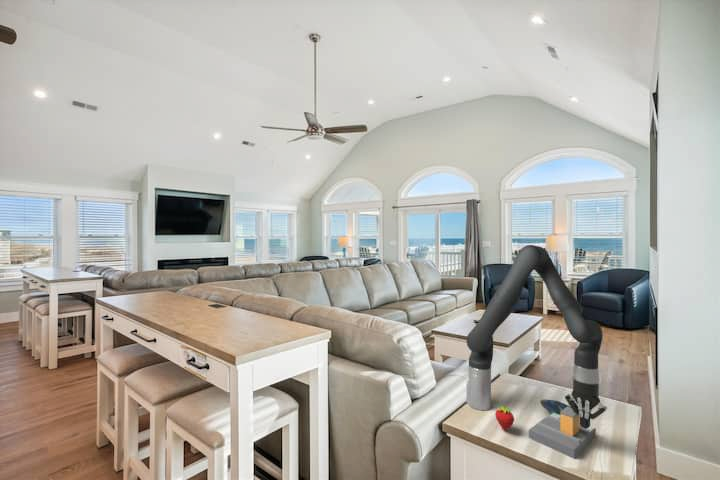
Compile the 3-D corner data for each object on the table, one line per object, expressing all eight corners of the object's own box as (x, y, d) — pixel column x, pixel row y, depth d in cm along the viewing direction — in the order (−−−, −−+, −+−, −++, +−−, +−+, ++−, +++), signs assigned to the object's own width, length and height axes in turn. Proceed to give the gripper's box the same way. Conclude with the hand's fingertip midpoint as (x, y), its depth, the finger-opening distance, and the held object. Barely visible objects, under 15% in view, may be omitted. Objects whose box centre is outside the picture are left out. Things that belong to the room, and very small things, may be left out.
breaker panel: (528, 437, 128) (528, 427, 128) (552, 419, 141) (552, 410, 141) (574, 458, 116) (574, 447, 116) (595, 436, 129) (595, 426, 129)
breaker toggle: (559, 431, 126) (560, 411, 126) (567, 425, 130) (567, 406, 130) (572, 437, 123) (573, 416, 123) (579, 430, 127) (579, 410, 127)
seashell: (578, 412, 141) (560, 390, 149) (559, 417, 139) (542, 394, 147) (572, 420, 145) (555, 398, 152) (553, 426, 142) (537, 403, 150)
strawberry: (504, 437, 128) (505, 410, 128) (491, 426, 136) (491, 400, 135) (518, 434, 130) (518, 408, 130) (504, 424, 137) (504, 398, 137)
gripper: (560, 375, 125) (560, 423, 125) (604, 388, 115) (603, 440, 115) (569, 369, 130) (568, 416, 130) (611, 381, 119) (610, 432, 120)
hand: (584, 427), depth 123 cm, fingers closed
